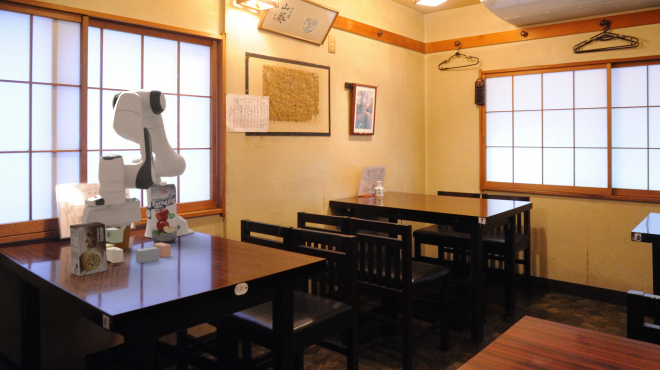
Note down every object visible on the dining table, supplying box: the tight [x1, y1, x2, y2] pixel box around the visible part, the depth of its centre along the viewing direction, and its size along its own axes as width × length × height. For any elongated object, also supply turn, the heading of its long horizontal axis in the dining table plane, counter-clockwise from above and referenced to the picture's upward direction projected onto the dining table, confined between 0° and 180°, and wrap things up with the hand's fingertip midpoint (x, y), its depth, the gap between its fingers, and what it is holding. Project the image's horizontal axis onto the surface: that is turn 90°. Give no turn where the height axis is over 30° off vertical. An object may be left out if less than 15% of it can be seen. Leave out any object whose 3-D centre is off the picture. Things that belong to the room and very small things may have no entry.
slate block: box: [135, 246, 160, 264], centre depth 172 cm, size 4×7×4 cm, turn 129°
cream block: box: [106, 247, 124, 264], centre depth 172 cm, size 4×7×4 cm, turn 45°
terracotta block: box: [152, 243, 172, 258], centre depth 181 cm, size 4×7×4 cm, turn 48°
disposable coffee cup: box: [107, 223, 132, 251], centre depth 193 cm, size 10×10×12 cm
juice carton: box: [151, 180, 178, 244], centre depth 207 cm, size 9×10×27 cm
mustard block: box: [106, 243, 114, 248], centre depth 180 cm, size 4×7×4 cm, turn 65°
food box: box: [69, 222, 108, 277], centre depth 155 cm, size 9×6×16 cm
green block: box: [105, 227, 123, 244], centre depth 171 cm, size 4×7×4 cm, turn 49°
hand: (113, 236), depth 172 cm, fingers closed on green block, 3 cm apart
